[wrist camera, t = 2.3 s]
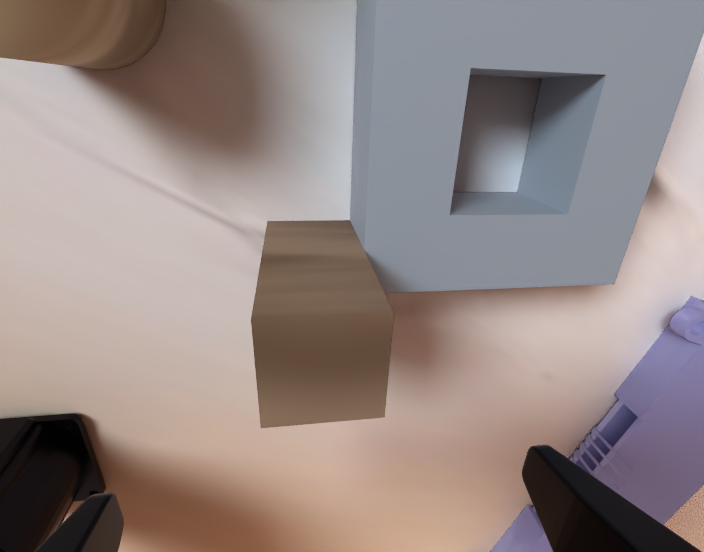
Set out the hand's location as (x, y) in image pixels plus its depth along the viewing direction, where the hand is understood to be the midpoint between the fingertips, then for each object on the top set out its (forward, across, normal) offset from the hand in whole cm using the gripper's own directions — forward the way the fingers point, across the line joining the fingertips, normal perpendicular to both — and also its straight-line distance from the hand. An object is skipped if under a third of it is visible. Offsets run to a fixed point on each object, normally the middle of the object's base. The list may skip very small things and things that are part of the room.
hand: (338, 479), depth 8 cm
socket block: (+12, -8, -6) cm, 16 cm away
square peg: (+13, 0, 0) cm, 13 cm away
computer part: (+13, -24, +19) cm, 34 cm away
